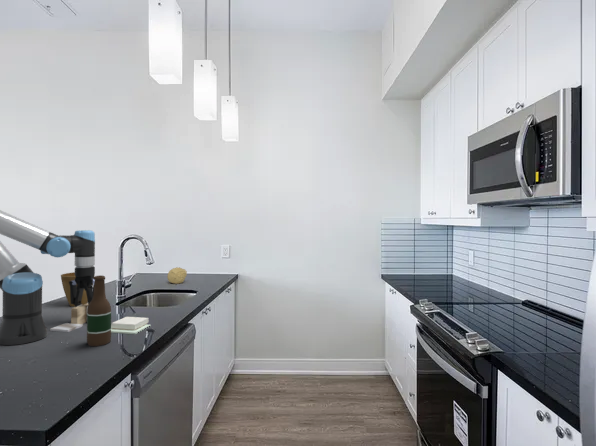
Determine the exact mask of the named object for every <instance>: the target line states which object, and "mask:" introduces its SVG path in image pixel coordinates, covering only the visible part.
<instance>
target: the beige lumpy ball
mask: <svg viewBox="0 0 596 446" xmlns="http://www.w3.org/2000/svg"><path fill="white" fill-rule="evenodd" d="M187 273H188V272H187V270H186V269H185V268H182V267H178V266H177V267H173V268H172V269H169V271H168V273H167V281H168V282H169V283H172V284H177V285H178V284H182V283H184V281H185V279H186V277H187V275H188V274H187Z"/></svg>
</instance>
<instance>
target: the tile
mask: <svg viewBox="0 0 596 446" xmlns="http://www.w3.org/2000/svg"><path fill="white" fill-rule="evenodd" d="M148 323H149V317H142V316H141V317H137V316H124V317H123V318H120V319H118V320H115V321H113V322H111V328H113V329H124V330H136V329H138V328H140V327H142V326H144V325H146V324H148Z"/></svg>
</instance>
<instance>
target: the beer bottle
mask: <svg viewBox="0 0 596 446" xmlns="http://www.w3.org/2000/svg"><path fill="white" fill-rule="evenodd" d="M94 280H95V282H94V295H93V299H92V300H91V302H90V303H89V305H88V309H87V322H86V343H87V345H88V347H100V346H106V345H107V344H110V342H111V340H112V333H111V323H112V306H111V304H110V301H109V300H108V299H107V296H106V295H107V294H106V286H105V285H106V284H105V283H106V282H105V280H106V276H104V275H95V276H94Z"/></svg>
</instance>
